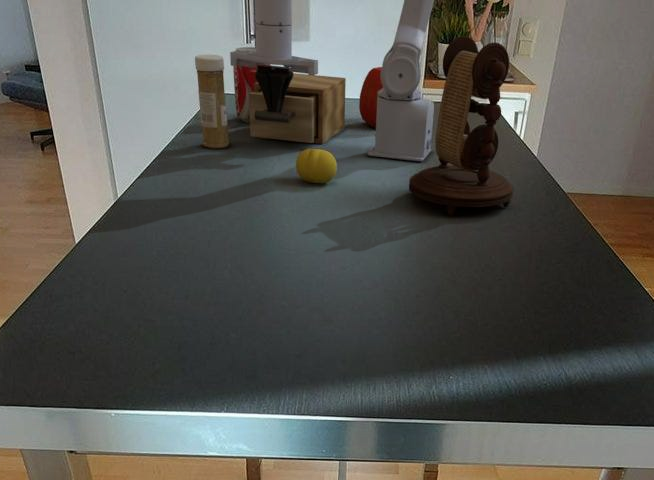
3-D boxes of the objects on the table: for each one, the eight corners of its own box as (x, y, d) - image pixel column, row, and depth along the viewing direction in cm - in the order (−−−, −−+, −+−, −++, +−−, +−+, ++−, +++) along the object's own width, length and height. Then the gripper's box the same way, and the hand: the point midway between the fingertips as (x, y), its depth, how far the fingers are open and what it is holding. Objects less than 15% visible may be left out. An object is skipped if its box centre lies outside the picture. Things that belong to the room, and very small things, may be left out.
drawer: (303, 148, 120) (303, 103, 115) (240, 141, 122) (238, 97, 118) (333, 128, 132) (334, 87, 128) (276, 122, 135) (275, 81, 130)
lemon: (340, 180, 108) (341, 148, 106) (331, 188, 105) (331, 155, 102) (302, 176, 110) (301, 144, 107) (291, 183, 106) (291, 150, 103)
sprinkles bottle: (234, 146, 123) (229, 56, 114) (212, 150, 120) (205, 58, 112) (219, 141, 125) (212, 53, 117) (197, 144, 123) (188, 54, 114)
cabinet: (322, 144, 126) (322, 89, 121) (256, 136, 129) (254, 83, 124) (344, 128, 137) (345, 77, 132) (283, 122, 139) (281, 72, 134)
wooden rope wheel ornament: (389, 192, 104) (399, 33, 92) (471, 182, 110) (490, 31, 98) (444, 223, 94) (464, 48, 82) (532, 210, 100) (562, 45, 88)
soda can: (233, 116, 142) (229, 46, 134) (268, 115, 143) (266, 46, 136) (239, 124, 136) (235, 52, 129) (275, 123, 138) (273, 51, 131)
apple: (382, 117, 146) (385, 57, 140) (424, 126, 141) (429, 64, 134) (347, 124, 140) (349, 62, 133) (390, 134, 134) (394, 70, 128)
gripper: (325, 26, 114) (322, 119, 122) (241, 17, 117) (244, 109, 125) (310, 30, 108) (309, 127, 117) (223, 21, 111) (227, 116, 119)
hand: (274, 118), depth 120 cm, fingers closed, pressing on drawer
